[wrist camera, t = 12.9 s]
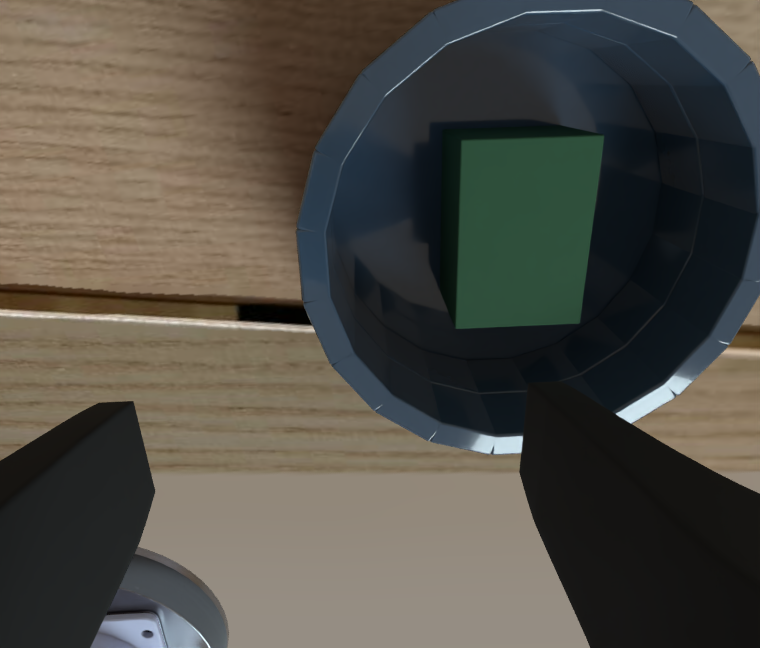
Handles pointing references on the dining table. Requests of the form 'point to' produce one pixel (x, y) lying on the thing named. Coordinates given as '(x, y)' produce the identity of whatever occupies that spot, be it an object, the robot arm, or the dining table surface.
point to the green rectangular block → (517, 223)
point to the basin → (610, 224)
